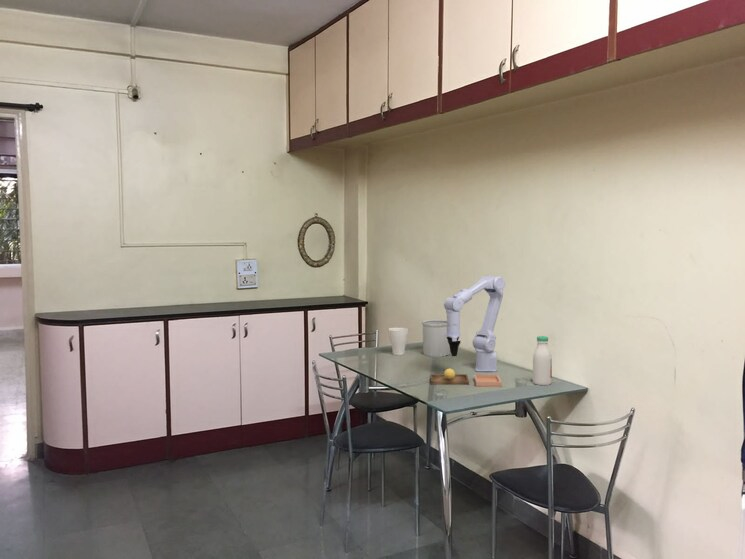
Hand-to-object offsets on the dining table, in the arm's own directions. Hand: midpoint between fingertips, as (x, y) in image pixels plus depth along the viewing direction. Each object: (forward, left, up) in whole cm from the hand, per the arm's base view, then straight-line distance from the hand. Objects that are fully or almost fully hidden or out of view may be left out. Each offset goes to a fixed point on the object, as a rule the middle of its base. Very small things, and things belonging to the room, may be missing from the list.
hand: (453, 354), depth 277 cm
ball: (+2, +10, -7) cm, 12 cm away
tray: (+2, +10, -10) cm, 14 cm away
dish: (-14, +13, -10) cm, 21 cm away
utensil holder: (+6, -46, -10) cm, 48 cm away
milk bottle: (-37, +13, -10) cm, 40 cm away
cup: (+26, -46, -10) cm, 54 cm away
